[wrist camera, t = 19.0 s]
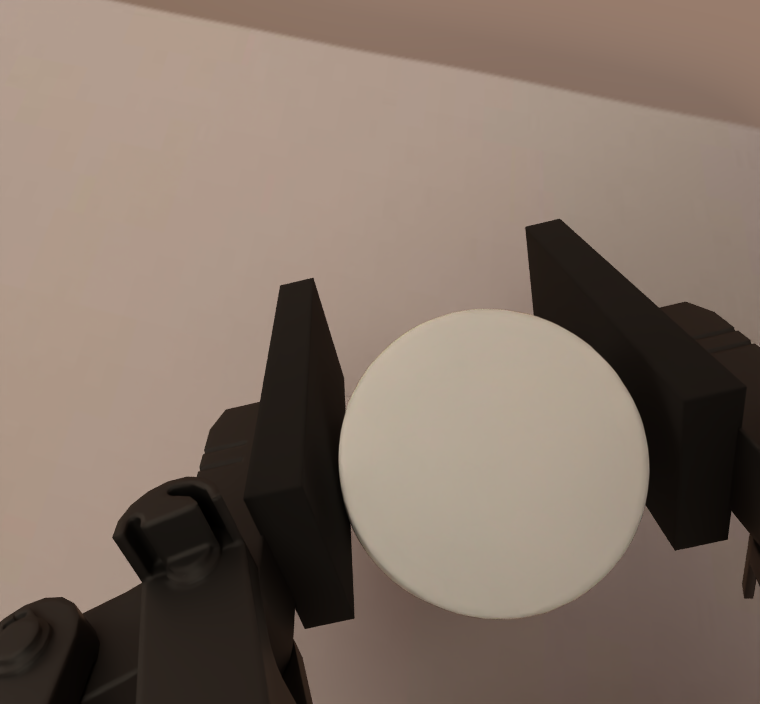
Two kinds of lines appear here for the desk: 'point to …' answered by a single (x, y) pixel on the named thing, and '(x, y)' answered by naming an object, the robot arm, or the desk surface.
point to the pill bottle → (493, 464)
